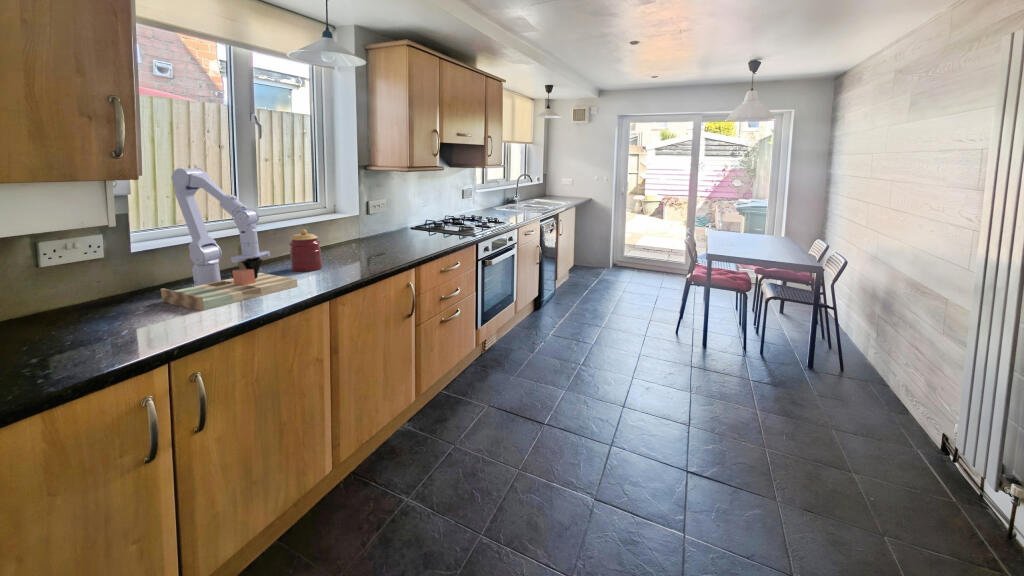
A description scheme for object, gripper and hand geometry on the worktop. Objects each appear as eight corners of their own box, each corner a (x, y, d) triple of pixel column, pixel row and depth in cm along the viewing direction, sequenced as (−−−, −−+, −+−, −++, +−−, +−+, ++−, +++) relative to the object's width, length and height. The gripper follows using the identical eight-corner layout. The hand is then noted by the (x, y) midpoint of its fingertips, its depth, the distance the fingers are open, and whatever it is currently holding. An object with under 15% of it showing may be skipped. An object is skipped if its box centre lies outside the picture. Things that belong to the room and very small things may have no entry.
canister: (293, 266, 227) (289, 228, 223) (323, 265, 230) (320, 227, 226) (289, 272, 215) (285, 232, 210) (321, 271, 218) (317, 231, 214)
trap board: (162, 301, 170) (160, 289, 169) (260, 279, 202) (258, 269, 200) (201, 311, 160) (199, 297, 159) (297, 286, 192) (296, 275, 191)
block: (234, 284, 182) (232, 270, 181) (246, 281, 187) (245, 268, 185) (242, 285, 180) (241, 272, 179) (255, 282, 184) (253, 269, 183)
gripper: (238, 246, 176) (242, 283, 179) (273, 240, 188) (277, 275, 191) (225, 244, 179) (230, 281, 182) (261, 239, 191) (265, 273, 195)
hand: (253, 278), depth 187 cm, fingers closed
